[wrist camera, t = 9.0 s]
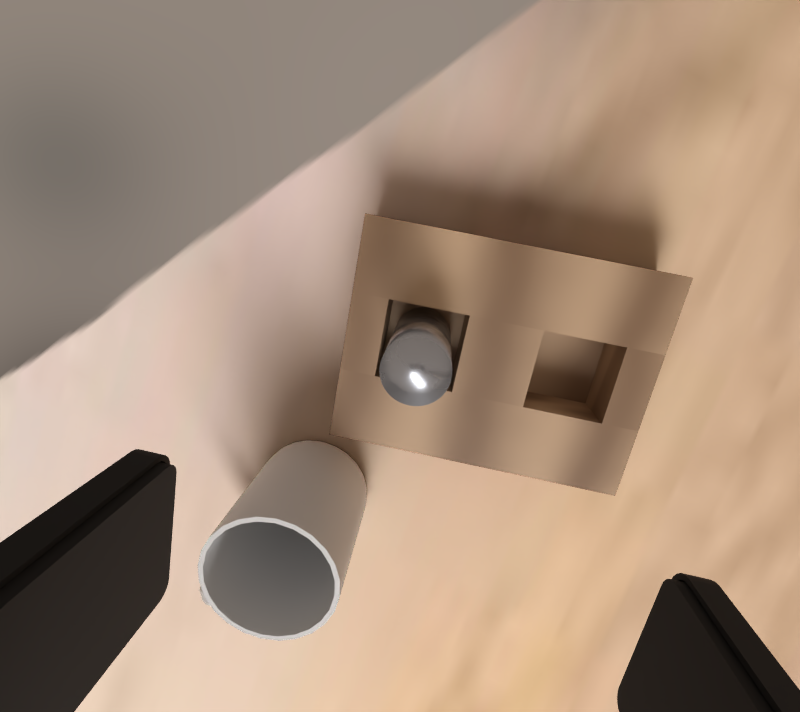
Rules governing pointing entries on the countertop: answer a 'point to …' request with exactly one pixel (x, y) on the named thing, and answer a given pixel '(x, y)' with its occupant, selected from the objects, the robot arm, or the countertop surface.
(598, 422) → the bore block
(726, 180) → the countertop surface
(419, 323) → the dowel
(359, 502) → the cup
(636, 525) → the countertop surface
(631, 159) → the countertop surface
